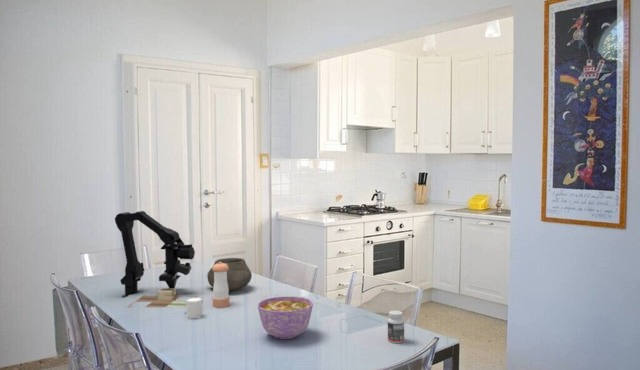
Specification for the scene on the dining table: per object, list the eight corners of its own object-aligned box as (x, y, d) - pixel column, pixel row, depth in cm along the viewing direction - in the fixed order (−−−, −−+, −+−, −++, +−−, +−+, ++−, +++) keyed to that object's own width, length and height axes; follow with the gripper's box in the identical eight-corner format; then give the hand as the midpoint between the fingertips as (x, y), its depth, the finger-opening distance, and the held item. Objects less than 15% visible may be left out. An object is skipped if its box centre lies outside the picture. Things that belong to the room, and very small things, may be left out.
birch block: (163, 296, 234) (162, 288, 234) (175, 296, 234) (175, 288, 234) (158, 300, 228) (157, 291, 228) (171, 300, 228) (171, 291, 228)
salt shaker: (225, 308, 220) (224, 263, 219) (210, 307, 222) (208, 263, 221) (232, 303, 227) (231, 260, 226) (216, 302, 229) (215, 260, 228)
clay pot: (200, 289, 253) (199, 259, 252) (238, 282, 266) (238, 254, 265) (220, 298, 235) (219, 266, 235) (260, 291, 248) (259, 260, 248)
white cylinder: (198, 319, 205) (198, 302, 205) (182, 318, 206) (182, 301, 206) (206, 314, 212) (205, 297, 211) (190, 313, 213) (190, 296, 213)
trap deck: (143, 299, 237) (143, 295, 236) (198, 299, 235) (197, 295, 235) (126, 310, 219) (126, 307, 218) (185, 310, 217) (185, 307, 217)
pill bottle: (386, 338, 180) (385, 310, 180) (402, 337, 181) (401, 309, 180) (389, 343, 175) (389, 315, 174) (406, 343, 175) (405, 314, 175)
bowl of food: (284, 322, 199) (284, 293, 198) (324, 333, 186) (324, 302, 186) (246, 337, 183) (245, 305, 183) (287, 349, 171) (286, 315, 170)
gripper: (182, 262, 228) (183, 297, 229) (194, 254, 247) (195, 287, 248) (158, 262, 229) (159, 297, 230) (172, 255, 247) (172, 287, 248)
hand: (172, 291), depth 239 cm, fingers closed
